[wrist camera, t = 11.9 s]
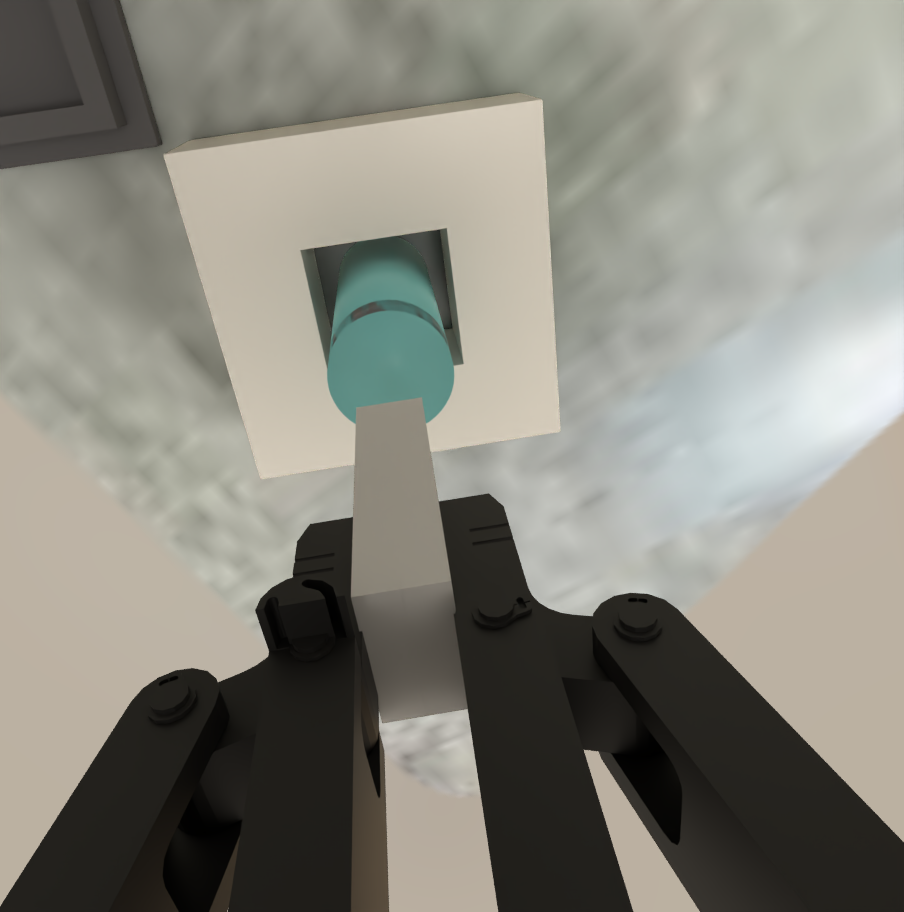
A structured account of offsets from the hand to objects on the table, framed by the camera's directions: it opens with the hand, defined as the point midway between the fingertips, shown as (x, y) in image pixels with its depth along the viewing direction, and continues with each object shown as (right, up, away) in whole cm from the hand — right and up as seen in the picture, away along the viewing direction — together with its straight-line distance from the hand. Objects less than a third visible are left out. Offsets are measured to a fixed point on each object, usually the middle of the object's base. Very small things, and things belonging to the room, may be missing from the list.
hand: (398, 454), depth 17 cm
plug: (-2, +7, +12) cm, 14 cm away
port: (-2, +7, +12) cm, 14 cm away
